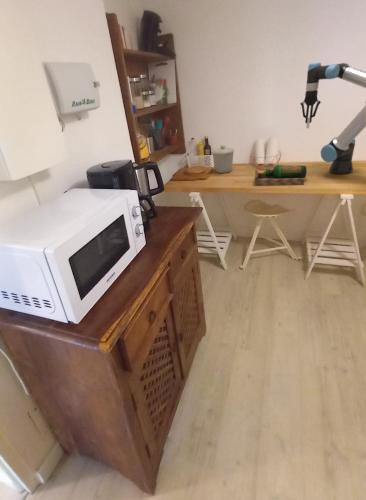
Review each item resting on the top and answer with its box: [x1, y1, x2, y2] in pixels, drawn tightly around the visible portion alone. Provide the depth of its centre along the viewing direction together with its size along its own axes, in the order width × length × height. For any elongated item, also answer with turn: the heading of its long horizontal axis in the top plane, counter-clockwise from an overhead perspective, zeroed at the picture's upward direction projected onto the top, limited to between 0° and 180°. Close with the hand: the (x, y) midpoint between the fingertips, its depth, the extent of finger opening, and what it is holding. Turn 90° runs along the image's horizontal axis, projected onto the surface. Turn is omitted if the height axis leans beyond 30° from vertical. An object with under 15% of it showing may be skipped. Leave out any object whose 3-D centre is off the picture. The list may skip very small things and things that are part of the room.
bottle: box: [262, 164, 307, 179], centre depth 204 cm, size 11×11×28 cm
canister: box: [211, 144, 235, 174], centre depth 236 cm, size 18×18×21 cm
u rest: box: [254, 169, 305, 187], centre depth 205 cm, size 32×17×6 cm, turn 77°
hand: (307, 127), depth 207 cm, fingers closed
